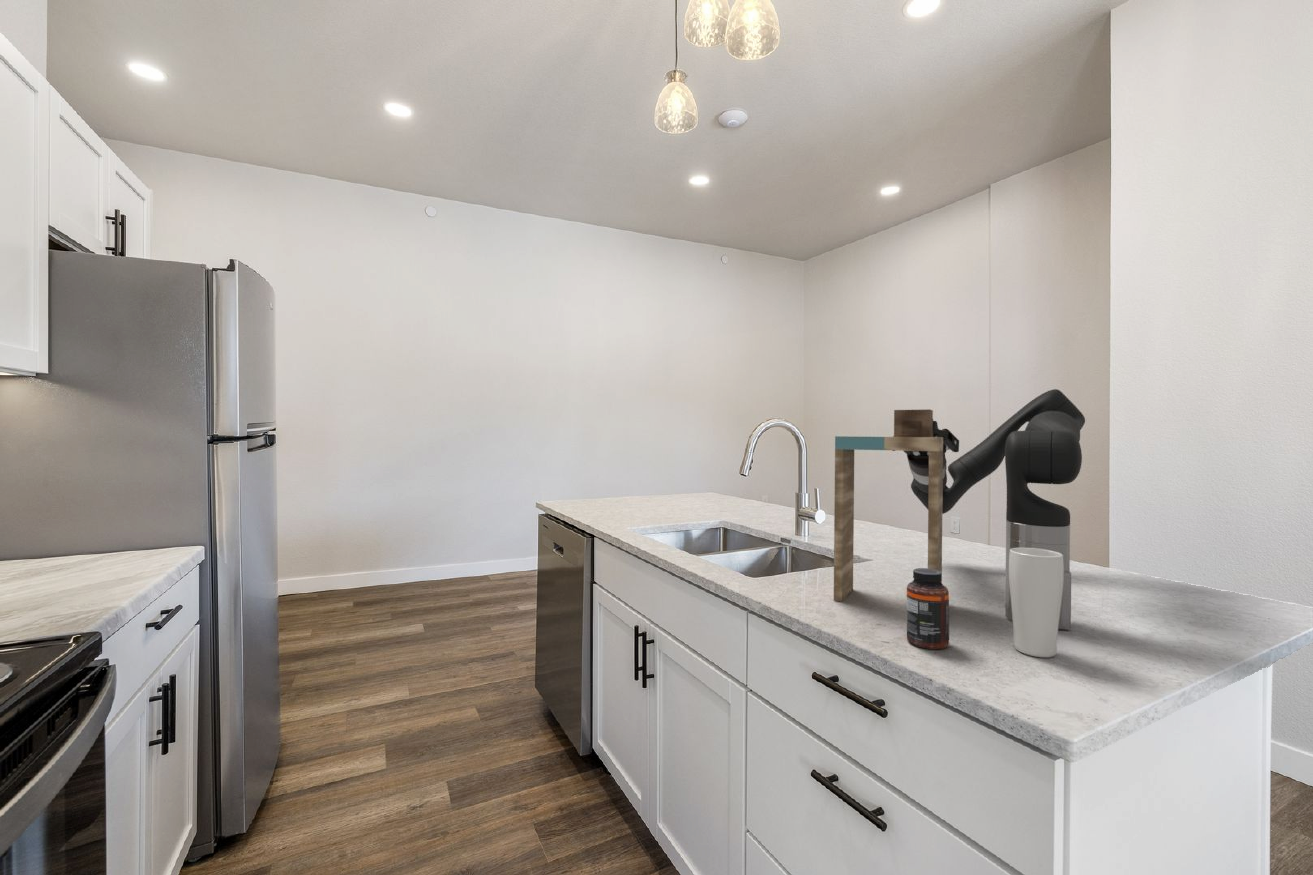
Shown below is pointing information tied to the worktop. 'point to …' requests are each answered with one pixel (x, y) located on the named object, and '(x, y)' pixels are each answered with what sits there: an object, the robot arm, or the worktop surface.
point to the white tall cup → (1035, 599)
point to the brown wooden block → (913, 423)
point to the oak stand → (846, 500)
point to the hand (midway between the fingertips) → (919, 422)
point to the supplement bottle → (927, 610)
